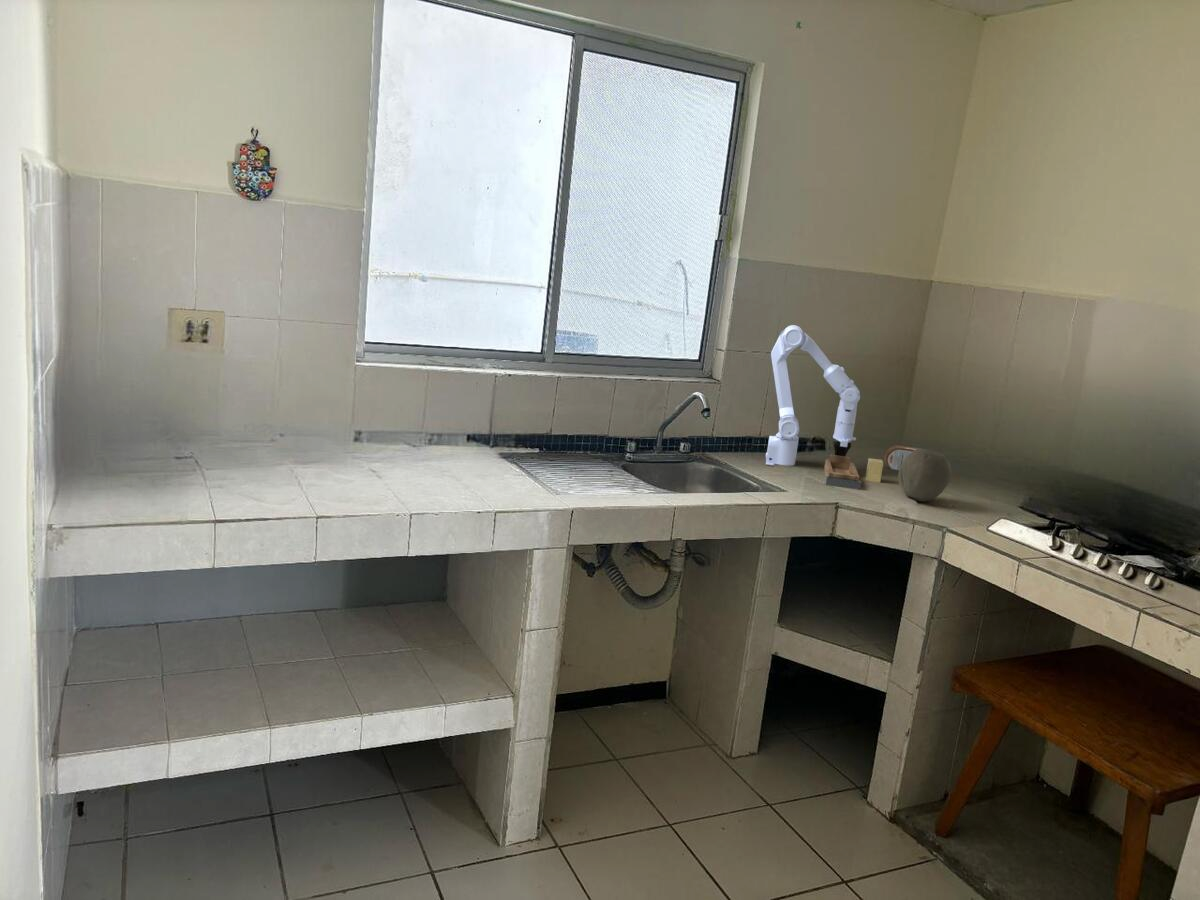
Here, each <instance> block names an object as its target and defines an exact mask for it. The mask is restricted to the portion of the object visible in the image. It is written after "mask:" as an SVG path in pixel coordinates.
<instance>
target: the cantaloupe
mask: <svg viewBox="0 0 1200 900" xmlns="http://www.w3.org/2000/svg"><path fill="white" fill-rule="evenodd" d="M952 473H953V469H952V466H951V463H950V461H949V459H948V458H947V457H946V456H945V454H943V453H941V452H939V451H937V450H933V449H930V448H929V449H928V448H921V449H917V450H914V451H912V452H911V453H910V454H908V455H907V457H906V458H905V459H904V460H903V462H902V464H901V466H900V469H899V471H898V473H897V474H898V475H897V477H898V478H897V479H898V483H899V486H900V489H901V491H902V492H903V493H904V494H905V495H906V496H907V497H909V498H911V499H913V500H914V501H916V502H921V503H922V502H928V501H931V500H934V499H936V498H937V497H938V496H940V495H941V494H942V493H943V492H944V490H945V489H946V488H947V486H948V484H949V483H950V481H951V478H952Z"/></svg>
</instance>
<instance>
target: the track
mask: <svg viewBox="0 0 1200 900" xmlns="http://www.w3.org/2000/svg"><path fill="white" fill-rule="evenodd" d="M862 483H863V482H862V480H852V479H845V478H837V477H830V476H826V475H825V483H824V484H825V486H831V487H837V488H838V487H839V488H846V489H853V490H861V487H862Z"/></svg>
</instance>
